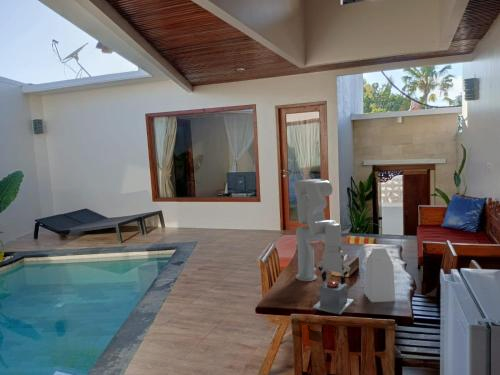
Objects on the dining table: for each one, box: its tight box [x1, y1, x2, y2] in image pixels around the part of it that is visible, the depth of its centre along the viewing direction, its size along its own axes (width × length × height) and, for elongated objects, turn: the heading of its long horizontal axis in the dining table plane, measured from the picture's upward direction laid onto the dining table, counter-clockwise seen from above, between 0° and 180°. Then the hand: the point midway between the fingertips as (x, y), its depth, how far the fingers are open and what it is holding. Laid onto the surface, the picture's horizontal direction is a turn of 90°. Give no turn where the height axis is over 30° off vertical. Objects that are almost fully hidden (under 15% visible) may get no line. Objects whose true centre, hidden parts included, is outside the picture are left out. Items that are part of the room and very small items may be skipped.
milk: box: [363, 247, 396, 303], centre depth 201 cm, size 12×12×26 cm
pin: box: [326, 280, 340, 288], centre depth 194 cm, size 6×6×10 cm
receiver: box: [312, 280, 355, 316], centre depth 194 cm, size 18×14×10 cm
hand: (333, 282), depth 194 cm, fingers open, 9 cm apart
